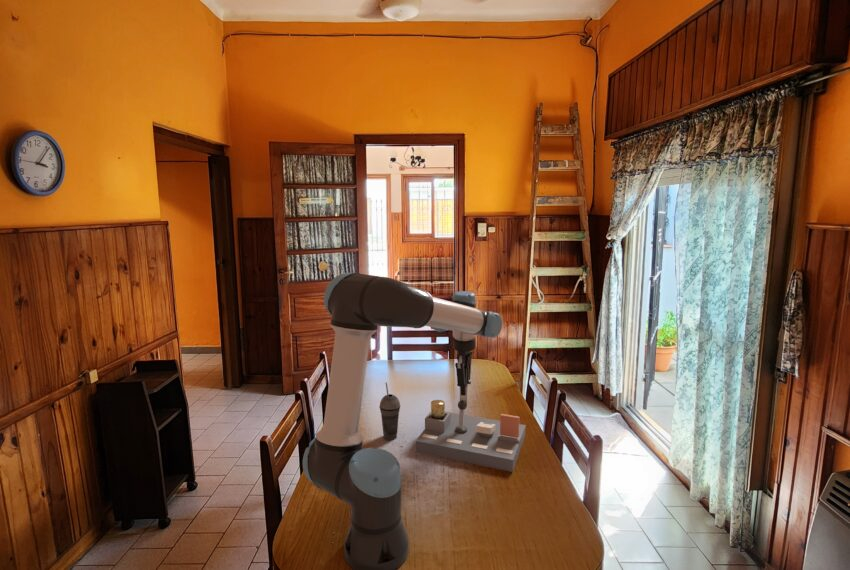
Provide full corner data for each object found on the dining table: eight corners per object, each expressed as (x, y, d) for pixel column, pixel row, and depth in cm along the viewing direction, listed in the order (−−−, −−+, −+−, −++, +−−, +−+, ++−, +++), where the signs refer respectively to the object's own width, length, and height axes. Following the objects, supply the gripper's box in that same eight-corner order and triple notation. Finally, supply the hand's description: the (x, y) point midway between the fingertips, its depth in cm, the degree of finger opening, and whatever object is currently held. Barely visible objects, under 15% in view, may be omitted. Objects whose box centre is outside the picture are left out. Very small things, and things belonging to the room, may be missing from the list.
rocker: (490, 434, 152) (491, 427, 152) (475, 431, 154) (476, 425, 154) (495, 430, 158) (495, 423, 159) (480, 427, 160) (481, 421, 160)
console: (512, 472, 142) (513, 447, 141) (415, 452, 153) (415, 429, 152) (525, 435, 164) (526, 414, 163) (439, 420, 175) (439, 400, 174)
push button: (442, 423, 159) (442, 406, 158) (428, 420, 161) (429, 404, 159) (446, 417, 163) (446, 401, 162) (433, 414, 165) (433, 398, 164)
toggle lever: (464, 427, 157) (465, 402, 157) (455, 426, 158) (456, 401, 158) (467, 424, 160) (468, 399, 160) (458, 423, 161) (459, 398, 161)
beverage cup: (397, 443, 159) (397, 387, 155) (377, 441, 160) (376, 386, 157) (402, 433, 166) (402, 379, 162) (383, 431, 167) (382, 378, 164)
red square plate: (518, 438, 152) (519, 418, 151) (500, 434, 154) (500, 415, 153) (518, 436, 153) (519, 416, 152) (500, 433, 155) (501, 413, 154)
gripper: (469, 344, 148) (469, 412, 154) (479, 332, 160) (479, 396, 165) (447, 342, 151) (447, 409, 156) (458, 330, 163) (458, 393, 168)
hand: (464, 402), depth 161 cm, fingers closed
